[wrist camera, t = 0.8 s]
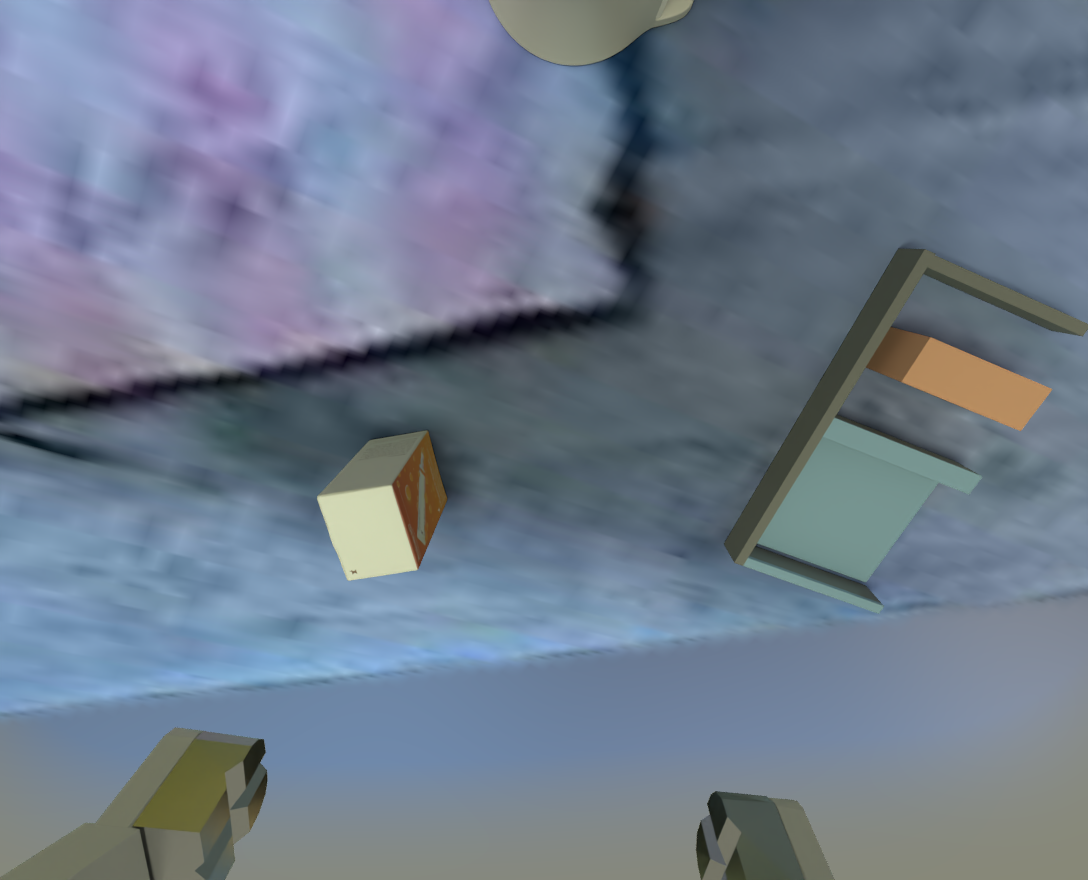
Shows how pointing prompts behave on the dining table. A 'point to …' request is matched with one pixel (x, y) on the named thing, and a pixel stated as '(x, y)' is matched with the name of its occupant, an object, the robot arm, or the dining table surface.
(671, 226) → the dining table surface
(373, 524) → the small box
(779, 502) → the gate frame with panel
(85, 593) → the dining table surface
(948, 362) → the long orange rectangular block
